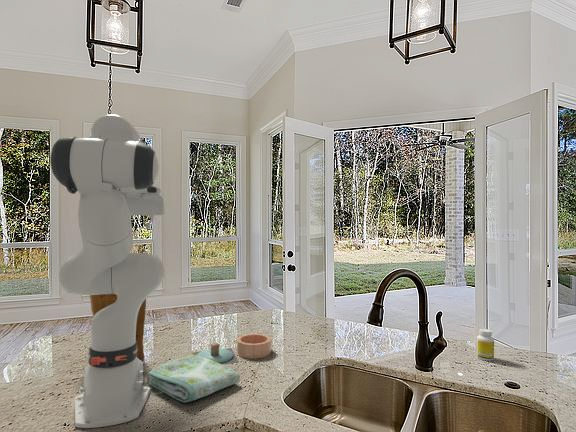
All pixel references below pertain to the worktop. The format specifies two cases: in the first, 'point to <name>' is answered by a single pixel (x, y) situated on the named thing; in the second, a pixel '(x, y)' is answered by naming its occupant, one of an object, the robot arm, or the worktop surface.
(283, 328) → the worktop surface
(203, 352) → the lid
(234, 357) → the mat
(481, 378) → the worktop surface
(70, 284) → the robot arm
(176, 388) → the towel
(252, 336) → the bowl
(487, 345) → the supplement bottle
